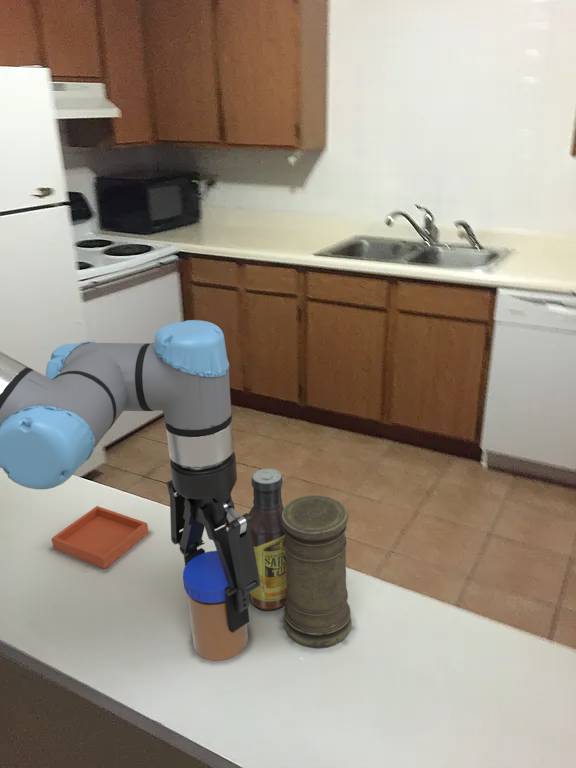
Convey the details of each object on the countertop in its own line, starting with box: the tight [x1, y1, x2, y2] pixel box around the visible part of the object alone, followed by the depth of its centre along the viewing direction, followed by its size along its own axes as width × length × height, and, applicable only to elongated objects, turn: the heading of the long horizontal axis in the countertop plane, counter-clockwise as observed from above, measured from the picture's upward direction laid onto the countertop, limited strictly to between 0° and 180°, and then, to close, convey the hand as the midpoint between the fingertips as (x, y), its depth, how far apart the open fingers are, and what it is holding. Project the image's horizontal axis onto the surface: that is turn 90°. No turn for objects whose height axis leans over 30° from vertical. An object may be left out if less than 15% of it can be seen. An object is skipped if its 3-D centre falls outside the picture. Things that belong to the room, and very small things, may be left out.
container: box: [281, 494, 352, 649], centre depth 87 cm, size 9×9×18 cm
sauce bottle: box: [248, 468, 287, 611], centre depth 91 cm, size 7×6×20 cm
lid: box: [182, 550, 229, 603], centre depth 84 cm, size 8×8×2 cm
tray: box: [51, 505, 149, 570], centre depth 108 cm, size 11×10×2 cm
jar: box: [186, 593, 249, 662], centre depth 86 cm, size 7×7×10 cm
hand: (218, 608), depth 86 cm, fingers closed on lid, 8 cm apart
